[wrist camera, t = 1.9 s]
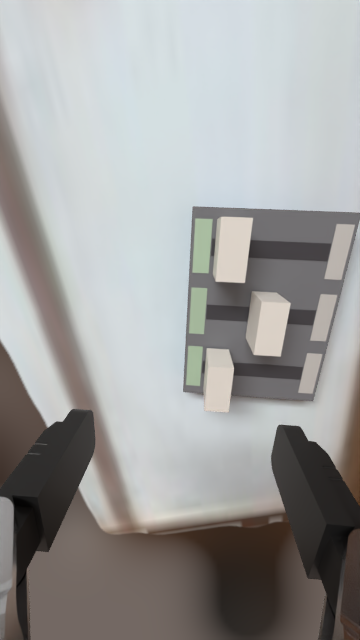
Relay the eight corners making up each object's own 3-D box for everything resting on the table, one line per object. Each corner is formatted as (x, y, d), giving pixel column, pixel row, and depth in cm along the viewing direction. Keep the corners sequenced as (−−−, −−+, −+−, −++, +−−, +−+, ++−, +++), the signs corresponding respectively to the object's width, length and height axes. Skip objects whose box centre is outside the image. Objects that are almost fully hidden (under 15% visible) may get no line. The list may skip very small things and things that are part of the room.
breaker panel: (342, 215, 25) (361, 212, 22) (302, 386, 32) (313, 401, 29) (193, 209, 26) (192, 206, 23) (184, 377, 33) (183, 392, 30)
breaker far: (228, 349, 27) (234, 368, 23) (224, 388, 29) (228, 412, 25) (206, 348, 27) (208, 366, 24) (203, 387, 29) (204, 410, 25)
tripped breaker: (276, 292, 25) (290, 303, 21) (268, 338, 27) (280, 356, 23) (252, 291, 25) (261, 301, 21) (245, 337, 27) (253, 354, 23)
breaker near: (243, 220, 23) (253, 217, 19) (237, 275, 25) (244, 283, 21) (217, 219, 23) (221, 216, 19) (212, 274, 25) (215, 281, 21)
